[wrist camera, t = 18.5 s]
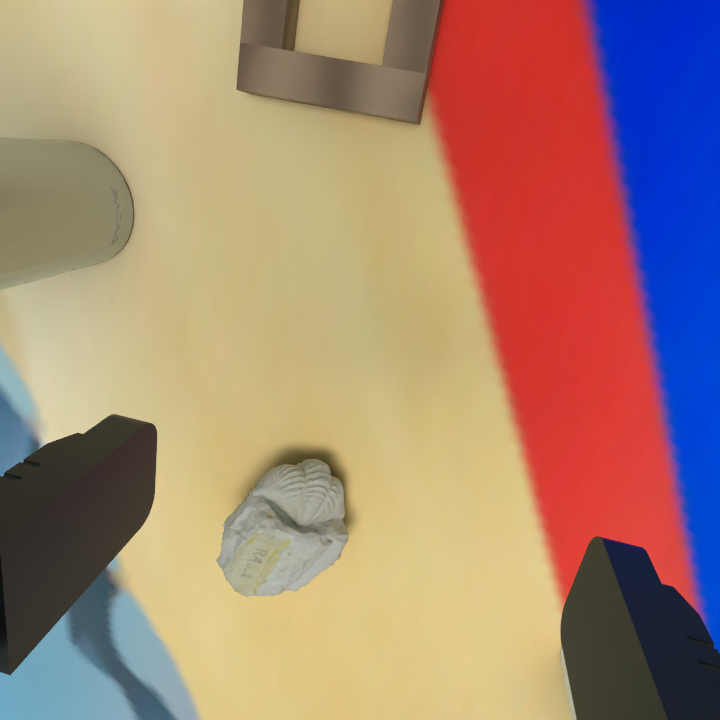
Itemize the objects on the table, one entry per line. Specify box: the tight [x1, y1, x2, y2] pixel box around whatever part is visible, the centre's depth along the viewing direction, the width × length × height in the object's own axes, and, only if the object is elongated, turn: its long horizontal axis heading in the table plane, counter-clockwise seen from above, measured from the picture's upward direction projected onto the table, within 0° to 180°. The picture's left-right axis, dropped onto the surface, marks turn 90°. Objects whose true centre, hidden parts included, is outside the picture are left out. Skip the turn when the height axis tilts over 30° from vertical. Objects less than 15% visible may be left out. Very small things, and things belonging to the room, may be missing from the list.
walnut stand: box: [236, 0, 444, 124], centre depth 35 cm, size 12×12×2 cm
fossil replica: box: [216, 459, 348, 597], centre depth 46 cm, size 12×8×10 cm
